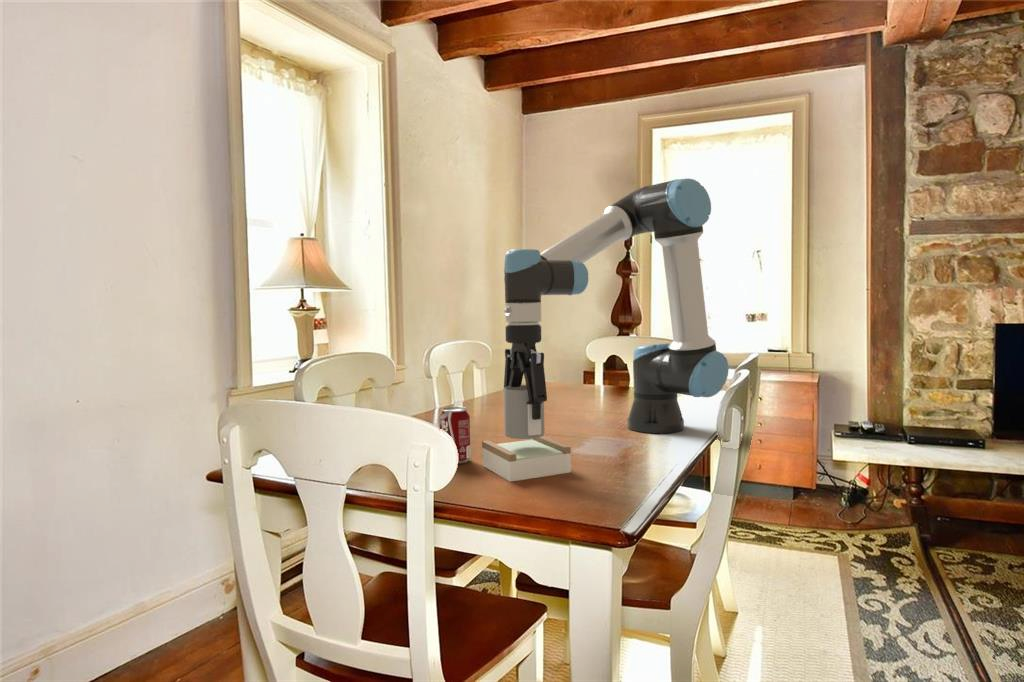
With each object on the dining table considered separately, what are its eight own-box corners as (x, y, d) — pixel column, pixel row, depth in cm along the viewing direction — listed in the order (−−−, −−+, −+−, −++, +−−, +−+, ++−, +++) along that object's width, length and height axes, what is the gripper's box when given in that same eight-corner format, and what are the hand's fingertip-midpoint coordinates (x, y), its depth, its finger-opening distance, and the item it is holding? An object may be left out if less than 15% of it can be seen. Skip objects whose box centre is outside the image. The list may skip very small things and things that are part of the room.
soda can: (475, 459, 146) (474, 406, 145) (463, 466, 140) (462, 412, 139) (448, 457, 148) (446, 405, 147) (435, 464, 142) (433, 410, 141)
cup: (540, 439, 131) (540, 391, 131) (501, 438, 133) (500, 390, 132) (546, 430, 140) (546, 385, 139) (509, 430, 141) (508, 384, 141)
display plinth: (539, 457, 146) (538, 434, 146) (570, 472, 134) (570, 446, 133) (482, 465, 140) (481, 441, 140) (509, 481, 128) (509, 454, 127)
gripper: (486, 322, 143) (488, 423, 144) (530, 326, 124) (531, 442, 125) (517, 321, 146) (518, 420, 147) (564, 324, 127) (565, 438, 128)
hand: (524, 430), depth 136 cm, fingers closed on cup, 8 cm apart
